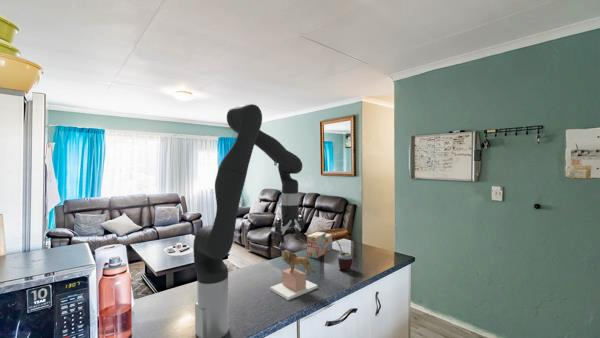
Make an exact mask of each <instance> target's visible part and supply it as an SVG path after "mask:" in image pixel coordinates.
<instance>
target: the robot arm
mask: <svg viewBox="0 0 600 338" xmlns="http://www.w3.org/2000/svg"><path fill="white" fill-rule="evenodd" d="M226 121H227V124H228V126H229V128H230V129H232V131H234V132H235V133H237V136H236V139H235V142H234V143H233V145H231V148H229V150H228V151H227V153H226V154H225V156H224V157H223V158H222V160H221V161H220V163H219V166H218V170H217V173H216V176H215V182H214V193H215V202H216V213H215V217H214V221H213V224H212V225H211V224H210V225H205V226H202V227H200V228H199V229H198V230H197V231H196V233H195V236H194V238H193V263H194V264H193V265H194V271H195V273H196V278H197V279H196V282H197V283H196V285H197V286H196V287H197V292H196V293H197V302H196V303H195V304H194V305H195V307H194V309H195V311H194V312H195V315H194V316H195V321H194V323H195V325H194V326H195V327H194V329H195V331H194V332H195V335H196V336H197V337H198V338H224V337H226V336H227V334H228V333H229V323H230V322H229V268H228V266H227V264H226V263H225V262H224V260H223V259H224V258H225V257H226V256H228V254H229V253H230V251H231V249H232V247H233V242H234V239H235V230H236V223H237V216H238V212H239V207H240V204H241V198H242V193H243V190H244V186H245V183H246V179H247V175H248V169H249V164H250V162H251V158H252V154H253V150H254V146H256V147H257V148H258V149H260V150H261V151H263V152H264V154H265V155H267V156H268V157H269V158H270V159H271V160H272V161H273V162H274V163H276V164H278V165H277V169H278V174H279V178H280V181H281V203H280V204H281V205H280V207H281V208H280V209H281V210H280V211H281V212H280V213H281V218H275V224H274V233H276V234H278V241H279V243H281V244H285V233H286V231H287V230H288V228H289V229H290V228H294V229H295V231H294V233H295V235H294V238H295V240H297V241H298V240H300V239H301V231H302V230H304V229H305V220H304V219H305V218H304V215H300V213H299V212H300V207H299V206H300V201H299V200H300V195H299V182H298V180H297V179H295V178H292V177H291V174H293V175H295V174H299V173H301V171H302V170H303V162H302V160H301V159H300V157H298V155H295V153H292V152H291V151H289V150H287V149H286V147H285V146H284V145H283V144H282V143H281V142H280V141H279V140H278V139H276V138H275V137H273V136H271V135H270V134H268V133H265V132H263V131H262V130H261V127H262V122H263V114H262V111H261V109H260V107H259V106H258V105H257V104H254V103H253V104H252V103H250V104H249V103H248V104H243V105H236V106H233V107H231V108H229V110H228V111H227V113H226Z"/></svg>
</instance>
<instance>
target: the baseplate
mask: <svg viewBox="0 0 600 338" xmlns="http://www.w3.org/2000/svg"><path fill="white" fill-rule="evenodd" d="M316 289H318V284H315V283H313V282H311V281H309V280H307V279H306V288H304V289H302V290H299V291H297V292H295V291H293V290H291V289H290V288H288V287H286V286H284V285H282V282H280V283H277V284H275V285H273V286H270V289H269V290H270V291H272V292H273V293H275V294H276V295H278V296H280V297H281V298H283V299H284V300H287V301H291V300H293V299H294V298H297V297H299V296H302V295H304V294H307V293H309V292H311V291H314V290H316Z"/></svg>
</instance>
